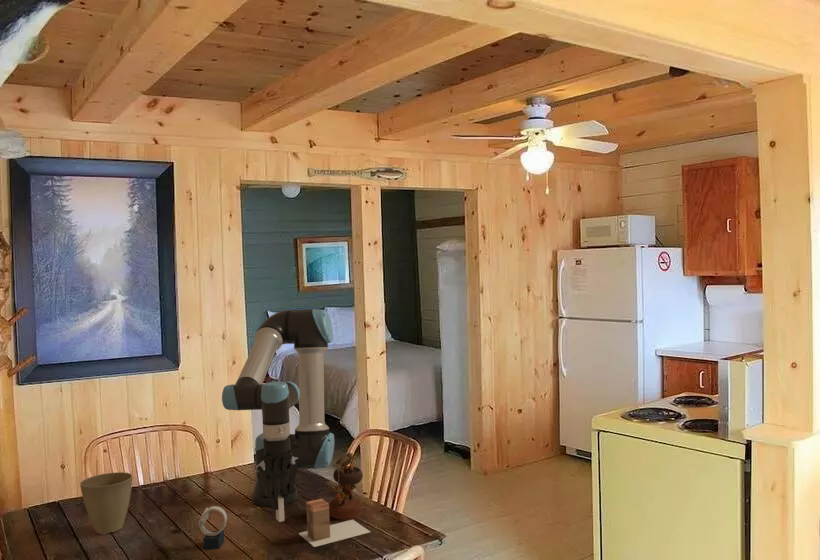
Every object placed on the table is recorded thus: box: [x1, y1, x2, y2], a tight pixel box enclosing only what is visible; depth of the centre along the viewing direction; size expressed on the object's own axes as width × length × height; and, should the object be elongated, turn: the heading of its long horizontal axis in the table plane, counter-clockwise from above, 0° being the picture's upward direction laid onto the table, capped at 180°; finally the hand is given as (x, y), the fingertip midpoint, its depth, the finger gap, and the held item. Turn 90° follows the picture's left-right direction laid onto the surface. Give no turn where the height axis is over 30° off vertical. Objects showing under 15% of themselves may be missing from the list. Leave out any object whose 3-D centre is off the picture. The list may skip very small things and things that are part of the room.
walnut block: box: [305, 498, 331, 541], centre depth 199 cm, size 5×5×10 cm
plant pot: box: [79, 471, 133, 533], centre depth 212 cm, size 15×15×16 cm
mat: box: [298, 519, 371, 548], centre depth 202 cm, size 12×18×1 cm, turn 121°
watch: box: [198, 505, 228, 550], centre depth 197 cm, size 6×8×11 cm
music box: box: [329, 452, 364, 521], centre depth 217 cm, size 15×11×20 cm
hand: (280, 519), depth 193 cm, fingers closed
